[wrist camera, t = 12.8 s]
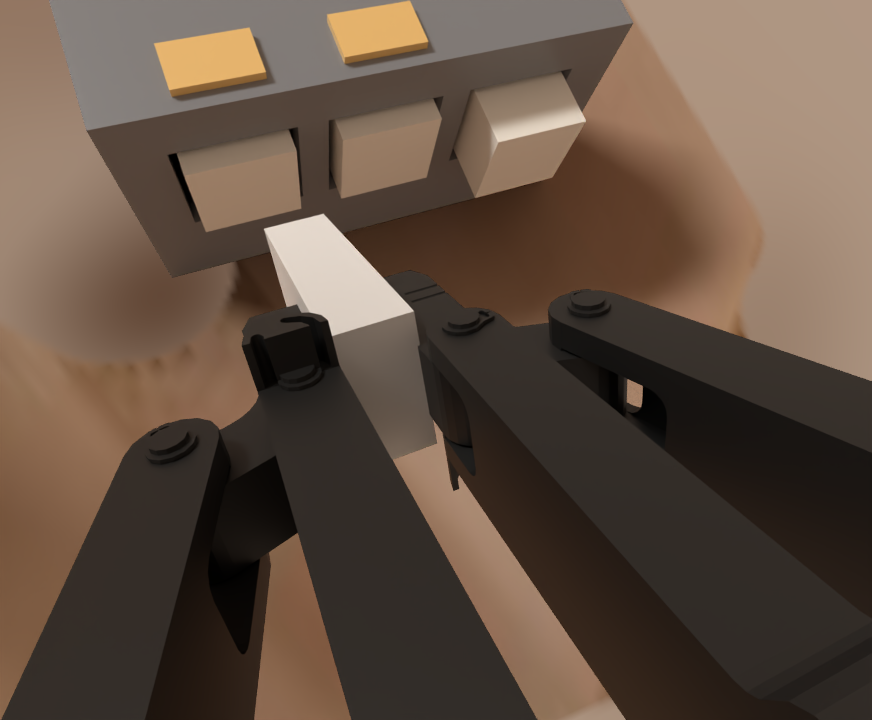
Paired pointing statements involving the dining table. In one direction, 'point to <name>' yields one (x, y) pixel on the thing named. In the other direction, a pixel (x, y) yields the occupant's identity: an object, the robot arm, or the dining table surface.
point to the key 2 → (517, 132)
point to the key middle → (382, 147)
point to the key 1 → (243, 179)
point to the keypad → (303, 92)
